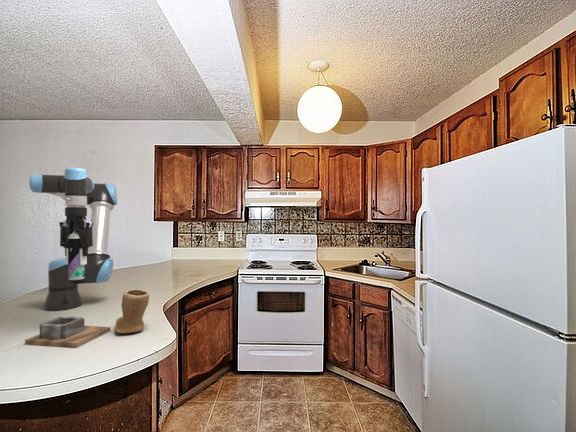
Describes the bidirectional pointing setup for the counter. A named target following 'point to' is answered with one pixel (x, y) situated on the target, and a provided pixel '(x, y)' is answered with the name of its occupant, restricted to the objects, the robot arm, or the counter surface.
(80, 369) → the counter surface
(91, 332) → the socket board
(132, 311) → the tan boot-shaped piece
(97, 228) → the robot arm
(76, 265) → the spray can
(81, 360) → the counter surface
